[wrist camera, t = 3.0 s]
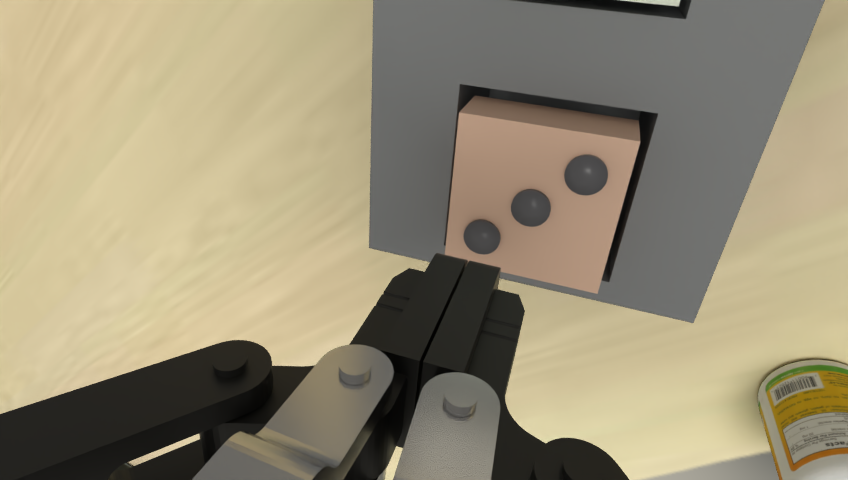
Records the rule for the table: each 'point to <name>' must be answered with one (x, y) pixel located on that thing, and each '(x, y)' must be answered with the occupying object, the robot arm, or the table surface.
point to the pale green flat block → (658, 2)
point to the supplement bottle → (807, 419)
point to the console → (593, 93)
